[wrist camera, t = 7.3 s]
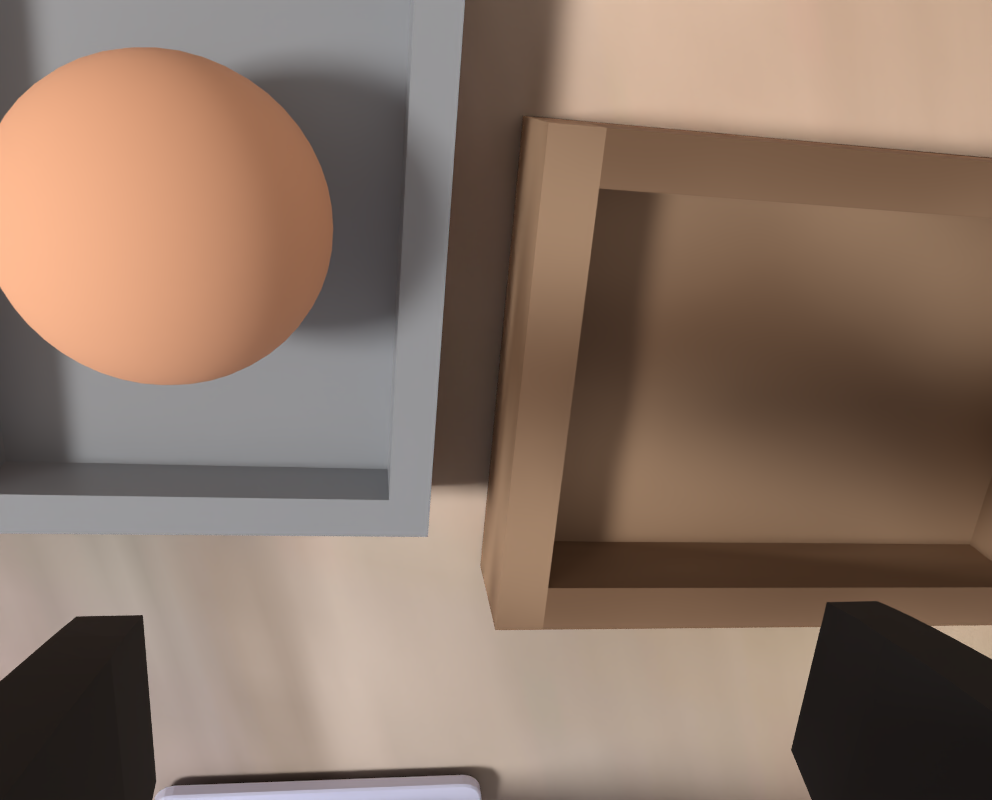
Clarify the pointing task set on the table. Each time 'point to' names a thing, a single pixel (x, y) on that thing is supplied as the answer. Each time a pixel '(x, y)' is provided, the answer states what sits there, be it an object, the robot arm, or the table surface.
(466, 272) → the table surface
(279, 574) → the table surface
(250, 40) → the tray
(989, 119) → the table surface
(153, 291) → the brown egg
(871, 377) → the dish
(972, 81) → the table surface
